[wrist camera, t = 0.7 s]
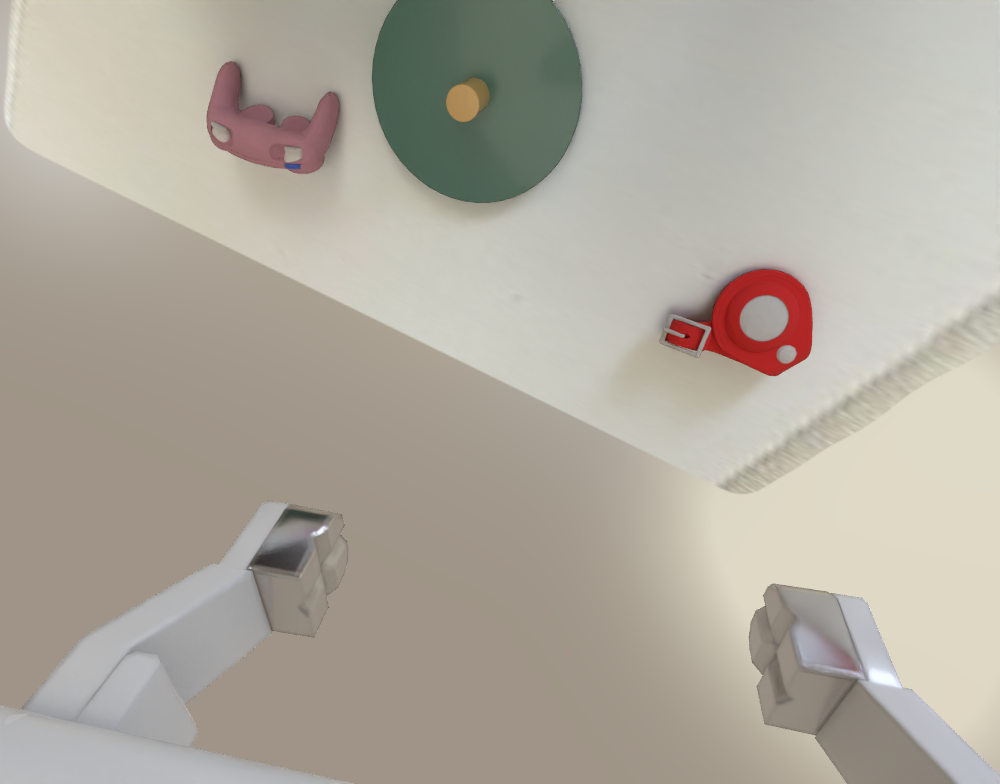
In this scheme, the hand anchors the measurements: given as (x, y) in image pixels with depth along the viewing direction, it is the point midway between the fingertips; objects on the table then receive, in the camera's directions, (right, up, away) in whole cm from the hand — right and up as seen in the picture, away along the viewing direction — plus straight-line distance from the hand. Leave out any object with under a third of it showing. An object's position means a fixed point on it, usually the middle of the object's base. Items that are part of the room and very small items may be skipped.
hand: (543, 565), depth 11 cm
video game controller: (-19, +27, +37) cm, 49 cm away
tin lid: (-3, +26, +33) cm, 42 cm away
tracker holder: (+20, +10, +40) cm, 46 cm away
